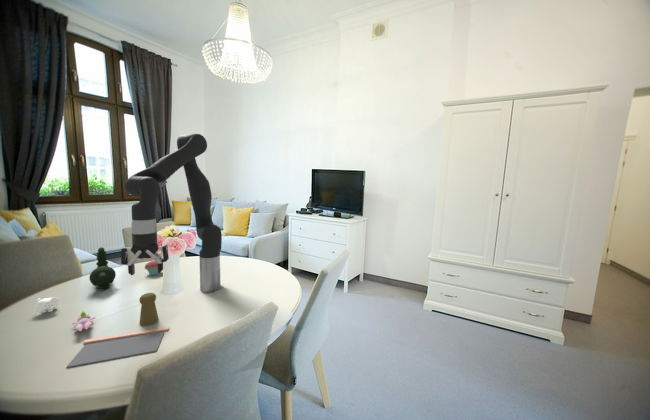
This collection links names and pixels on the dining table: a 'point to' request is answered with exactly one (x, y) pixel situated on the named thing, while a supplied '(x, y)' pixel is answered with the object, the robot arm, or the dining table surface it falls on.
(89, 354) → the mat
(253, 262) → the dining table surface
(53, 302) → the elephant figurine
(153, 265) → the cupcake
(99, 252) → the dark green rounded piece
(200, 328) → the dining table surface
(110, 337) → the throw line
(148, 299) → the cork
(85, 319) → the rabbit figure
